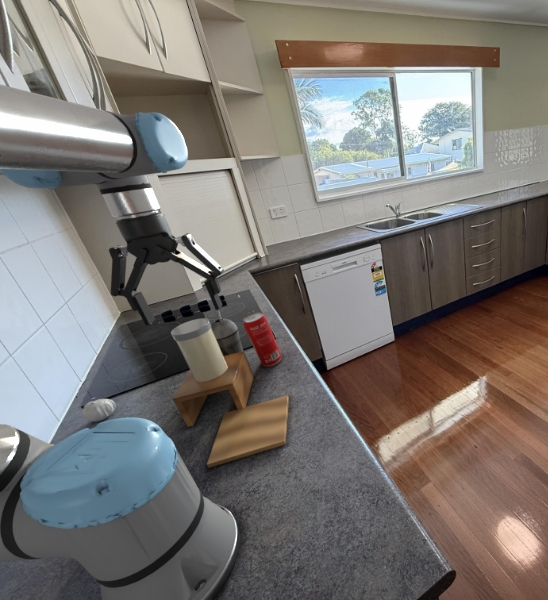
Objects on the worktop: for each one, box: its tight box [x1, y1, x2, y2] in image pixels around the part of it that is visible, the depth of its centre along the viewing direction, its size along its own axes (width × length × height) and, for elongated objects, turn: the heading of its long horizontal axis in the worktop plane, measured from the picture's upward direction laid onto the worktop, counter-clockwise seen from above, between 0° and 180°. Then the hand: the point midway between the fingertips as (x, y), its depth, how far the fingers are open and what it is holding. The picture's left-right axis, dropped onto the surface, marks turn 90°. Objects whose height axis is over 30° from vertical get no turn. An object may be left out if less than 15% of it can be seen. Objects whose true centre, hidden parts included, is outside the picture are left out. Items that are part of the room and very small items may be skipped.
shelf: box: [172, 350, 255, 428], centre depth 75 cm, size 14×12×8 cm
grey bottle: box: [210, 309, 244, 356], centre depth 84 cm, size 7×7×20 cm
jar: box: [170, 317, 228, 382], centre depth 71 cm, size 7×7×12 cm
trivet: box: [206, 395, 290, 469], centre depth 66 cm, size 14×14×1 cm
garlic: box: [81, 398, 117, 422], centre depth 75 cm, size 6×5×5 cm
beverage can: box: [242, 311, 283, 368], centre depth 86 cm, size 6×6×15 cm
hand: (185, 315), depth 67 cm, fingers open, 13 cm apart
